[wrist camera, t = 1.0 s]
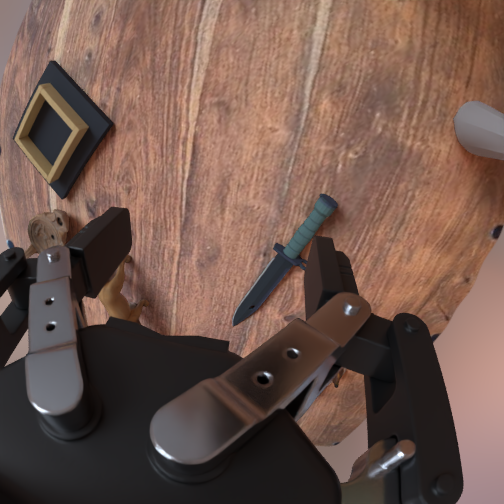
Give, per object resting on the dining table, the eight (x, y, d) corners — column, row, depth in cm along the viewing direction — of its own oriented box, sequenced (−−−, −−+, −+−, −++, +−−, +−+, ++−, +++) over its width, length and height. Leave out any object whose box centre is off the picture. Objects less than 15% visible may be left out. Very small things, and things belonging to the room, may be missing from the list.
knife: (313, 192, 29) (353, 220, 30) (314, 186, 31) (353, 212, 31) (219, 324, 43) (249, 342, 43) (224, 315, 44) (253, 332, 44)
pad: (55, 60, 27) (39, 61, 24) (114, 123, 31) (99, 128, 28) (16, 136, 33) (3, 142, 30) (66, 197, 37) (53, 205, 34)
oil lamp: (63, 191, 36) (41, 206, 32) (89, 234, 39) (69, 252, 35) (27, 225, 41) (8, 239, 37) (49, 260, 44) (32, 276, 40)
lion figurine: (167, 322, 45) (145, 365, 38) (141, 324, 47) (118, 364, 39) (123, 240, 39) (87, 278, 31) (97, 248, 40) (62, 283, 33)
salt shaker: (451, 153, 26) (518, 196, 15) (441, 102, 24) (512, 119, 13) (490, 145, 24) (562, 184, 13) (482, 96, 22) (559, 114, 11)
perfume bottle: (329, 391, 49) (329, 412, 45) (265, 377, 49) (261, 399, 45) (361, 350, 42) (363, 373, 38) (286, 332, 42) (283, 356, 39)
